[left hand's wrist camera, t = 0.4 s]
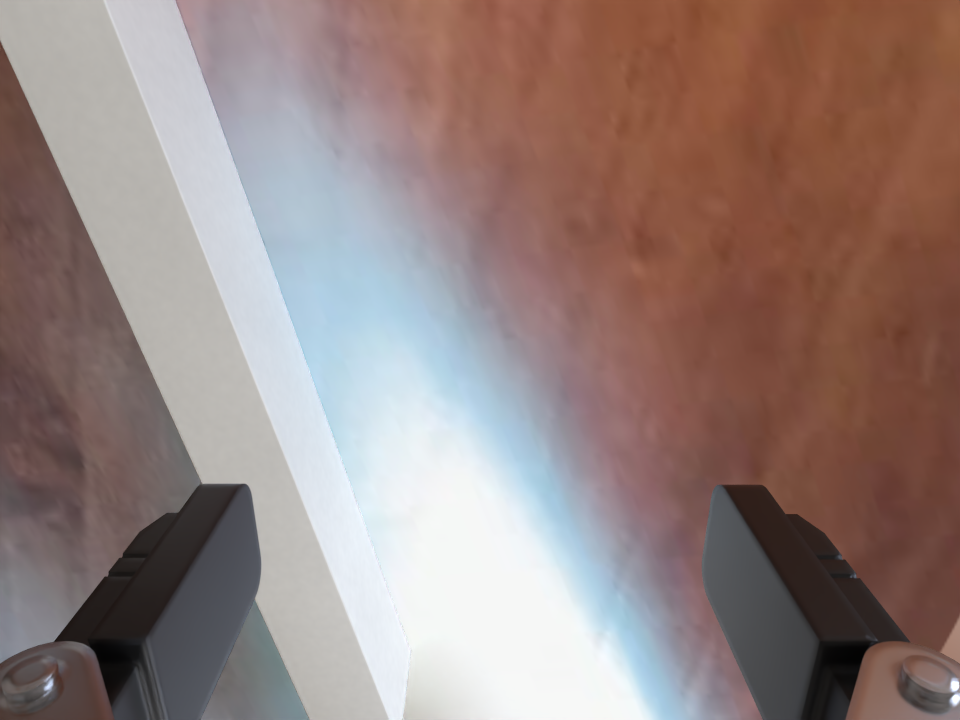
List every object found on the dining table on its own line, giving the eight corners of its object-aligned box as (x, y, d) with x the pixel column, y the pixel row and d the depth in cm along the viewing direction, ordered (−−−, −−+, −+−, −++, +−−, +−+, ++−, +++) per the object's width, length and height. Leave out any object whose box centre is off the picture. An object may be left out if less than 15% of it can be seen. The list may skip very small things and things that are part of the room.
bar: (1, -185, 30) (-144, -272, 23) (97, -216, 30) (-20, -314, 23) (348, 663, 48) (326, 758, 41) (411, 650, 48) (400, 744, 41)
